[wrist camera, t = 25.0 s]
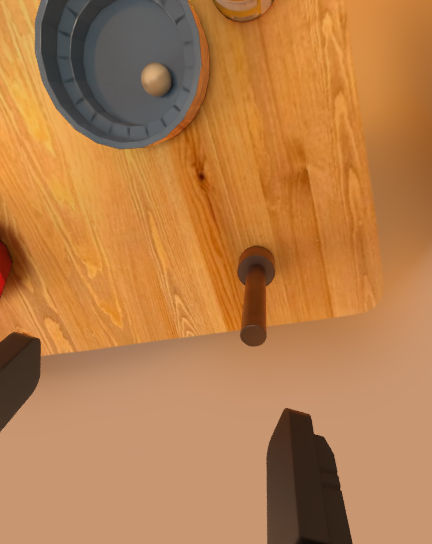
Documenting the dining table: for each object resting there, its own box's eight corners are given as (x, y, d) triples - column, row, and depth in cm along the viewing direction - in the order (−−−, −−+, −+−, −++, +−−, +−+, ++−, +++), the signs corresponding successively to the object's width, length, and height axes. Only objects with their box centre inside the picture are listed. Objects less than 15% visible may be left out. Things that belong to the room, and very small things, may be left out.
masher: (279, 253, 42) (288, 324, 28) (265, 283, 44) (267, 364, 30) (246, 241, 42) (238, 306, 28) (234, 271, 44) (220, 346, 30)
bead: (149, 63, 35) (168, 91, 36) (130, 79, 34) (149, 106, 35) (163, 50, 33) (182, 80, 34) (142, 66, 32) (162, 96, 33)
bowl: (226, -3, 32) (218, -27, 27) (193, 159, 39) (182, 166, 34) (72, -43, 33) (34, -75, 27) (65, 125, 39) (34, 126, 34)
